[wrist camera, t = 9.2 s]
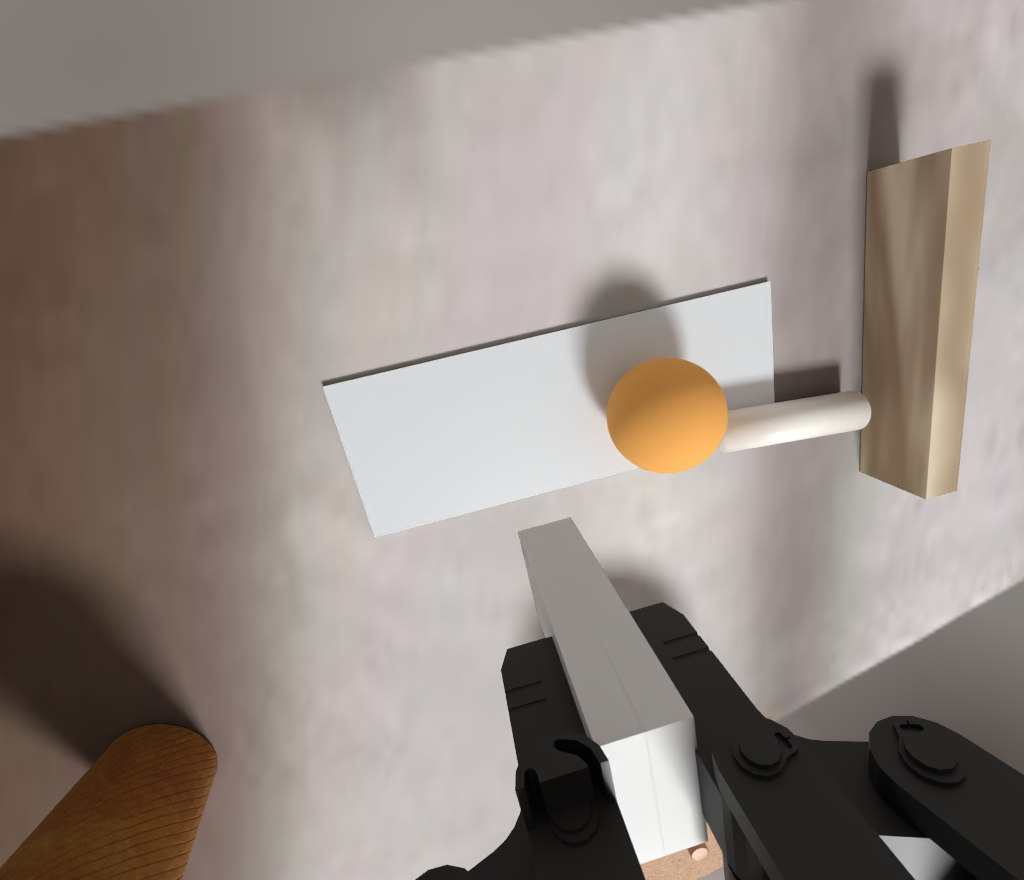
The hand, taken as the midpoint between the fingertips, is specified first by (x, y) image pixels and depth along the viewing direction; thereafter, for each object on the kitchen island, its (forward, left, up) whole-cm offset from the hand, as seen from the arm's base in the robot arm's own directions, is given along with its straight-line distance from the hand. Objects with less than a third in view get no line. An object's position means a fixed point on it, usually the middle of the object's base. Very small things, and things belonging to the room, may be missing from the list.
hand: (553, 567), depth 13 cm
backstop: (+19, +15, -14) cm, 28 cm away
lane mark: (+4, +3, -14) cm, 15 cm away
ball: (+7, +5, -11) cm, 14 cm away
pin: (+12, +6, -13) cm, 19 cm away
